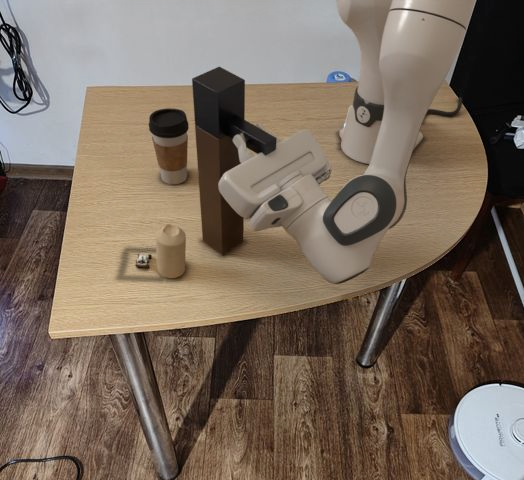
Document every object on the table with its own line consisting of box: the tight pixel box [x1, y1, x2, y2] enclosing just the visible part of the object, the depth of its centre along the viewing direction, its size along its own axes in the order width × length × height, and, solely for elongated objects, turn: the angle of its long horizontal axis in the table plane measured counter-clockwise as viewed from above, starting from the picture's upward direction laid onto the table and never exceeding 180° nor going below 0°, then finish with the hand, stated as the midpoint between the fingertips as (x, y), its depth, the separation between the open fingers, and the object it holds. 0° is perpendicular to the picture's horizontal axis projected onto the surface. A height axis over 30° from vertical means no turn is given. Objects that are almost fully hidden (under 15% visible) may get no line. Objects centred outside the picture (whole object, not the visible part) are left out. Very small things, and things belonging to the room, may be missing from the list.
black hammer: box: [191, 66, 277, 156], centre depth 89 cm, size 6×15×8 cm, turn 46°
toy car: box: [134, 252, 153, 269], centre depth 109 cm, size 3×4×2 cm, turn 178°
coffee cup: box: [148, 108, 190, 185], centre depth 122 cm, size 8×8×15 cm
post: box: [194, 124, 245, 256], centre depth 105 cm, size 6×6×26 cm
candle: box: [155, 223, 187, 279], centre depth 105 cm, size 6×6×10 cm
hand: (245, 131), depth 90 cm, fingers closed on black hammer, 2 cm apart
